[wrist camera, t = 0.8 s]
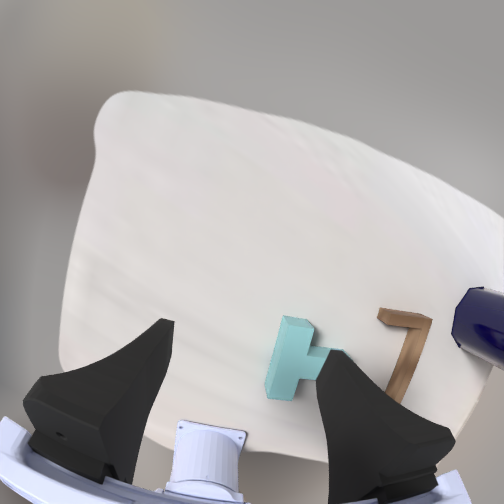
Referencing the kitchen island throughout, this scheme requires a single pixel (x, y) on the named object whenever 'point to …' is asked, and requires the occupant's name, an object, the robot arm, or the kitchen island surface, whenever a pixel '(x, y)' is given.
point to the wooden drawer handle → (405, 348)
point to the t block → (293, 358)
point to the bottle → (481, 324)
